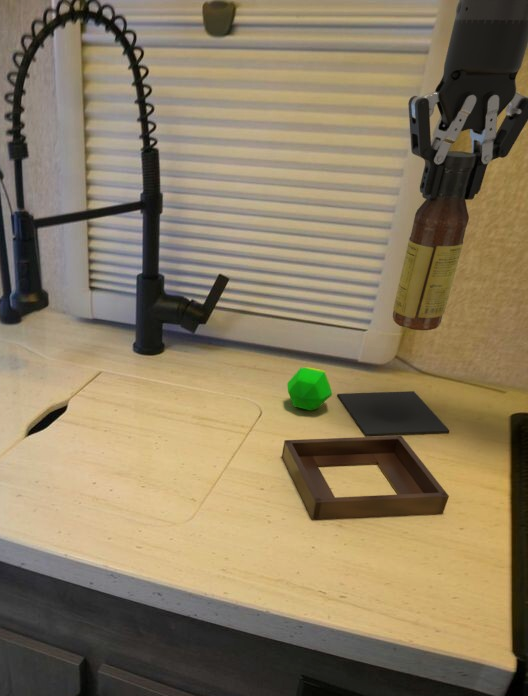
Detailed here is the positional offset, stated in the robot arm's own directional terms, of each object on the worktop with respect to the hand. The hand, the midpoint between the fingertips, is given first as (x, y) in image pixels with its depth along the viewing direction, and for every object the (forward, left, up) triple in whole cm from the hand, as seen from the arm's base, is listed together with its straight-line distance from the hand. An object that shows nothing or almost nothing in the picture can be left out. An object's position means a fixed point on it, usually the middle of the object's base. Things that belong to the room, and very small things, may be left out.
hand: (447, 197), depth 78 cm
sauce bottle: (0, 0, -15) cm, 15 cm away
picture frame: (+10, +16, -29) cm, 35 cm away
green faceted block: (+10, -5, -29) cm, 31 cm away
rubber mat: (-1, -1, -29) cm, 29 cm away
